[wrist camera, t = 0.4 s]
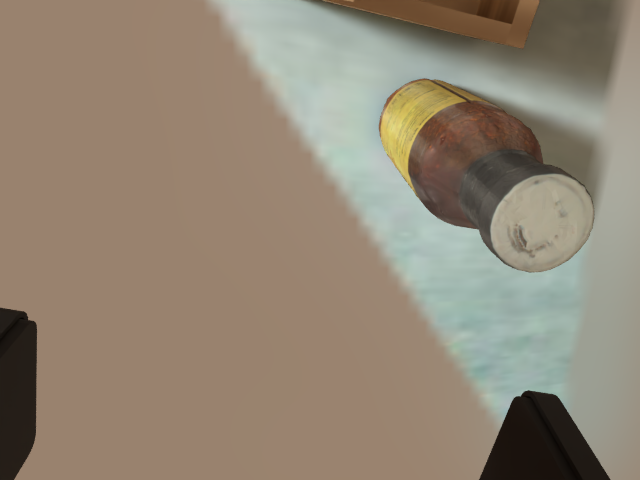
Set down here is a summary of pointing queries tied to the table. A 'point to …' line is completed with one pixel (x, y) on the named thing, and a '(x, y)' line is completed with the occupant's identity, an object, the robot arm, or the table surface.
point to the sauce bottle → (485, 174)
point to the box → (460, 16)
